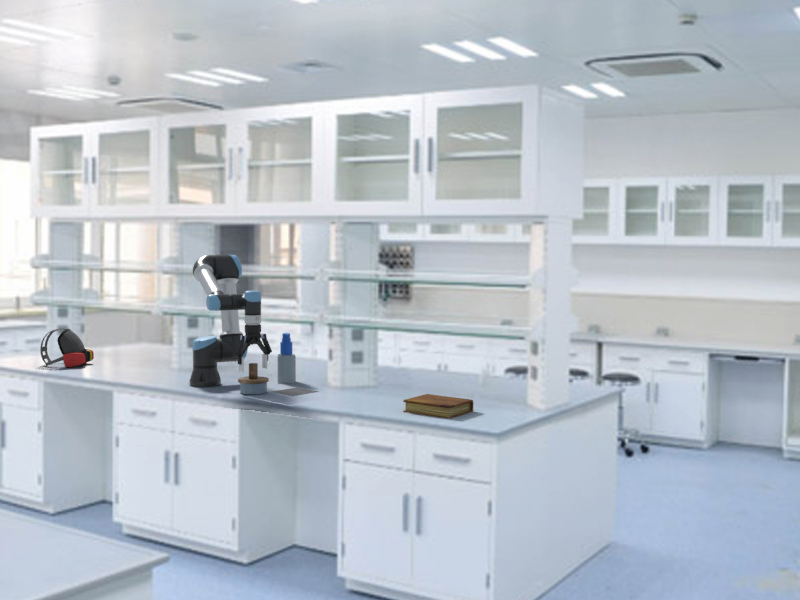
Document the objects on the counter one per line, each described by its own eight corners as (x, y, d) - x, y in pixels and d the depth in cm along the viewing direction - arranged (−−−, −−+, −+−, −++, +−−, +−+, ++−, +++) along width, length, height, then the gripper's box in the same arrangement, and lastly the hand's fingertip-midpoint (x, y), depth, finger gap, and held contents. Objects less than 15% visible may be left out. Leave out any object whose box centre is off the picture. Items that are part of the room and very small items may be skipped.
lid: (231, 381, 421) (231, 363, 421) (255, 377, 432) (255, 360, 431) (250, 384, 412) (250, 366, 411) (274, 381, 422) (274, 363, 422)
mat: (270, 393, 425) (270, 391, 425) (296, 389, 436) (296, 387, 436) (293, 397, 414) (293, 395, 414) (319, 393, 425) (319, 391, 425)
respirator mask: (84, 363, 497) (64, 322, 496) (46, 382, 499) (25, 341, 498) (99, 358, 519) (80, 318, 518) (63, 376, 521) (43, 336, 520)
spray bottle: (278, 382, 457) (278, 332, 455) (296, 382, 457) (296, 332, 455) (276, 385, 448) (276, 334, 446) (294, 385, 448) (294, 334, 446)
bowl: (234, 394, 422) (234, 381, 421) (255, 390, 431) (255, 378, 430) (251, 397, 414) (250, 384, 413) (271, 394, 423) (271, 381, 422)
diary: (473, 413, 385) (473, 399, 384) (449, 420, 369) (449, 406, 369) (427, 406, 398) (428, 393, 397) (403, 412, 383) (403, 399, 382)
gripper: (235, 326, 408) (236, 373, 410) (279, 322, 426) (279, 367, 428) (225, 325, 413) (226, 371, 415) (269, 321, 431) (269, 366, 433)
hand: (253, 369), depth 421 cm, fingers open, 13 cm apart
